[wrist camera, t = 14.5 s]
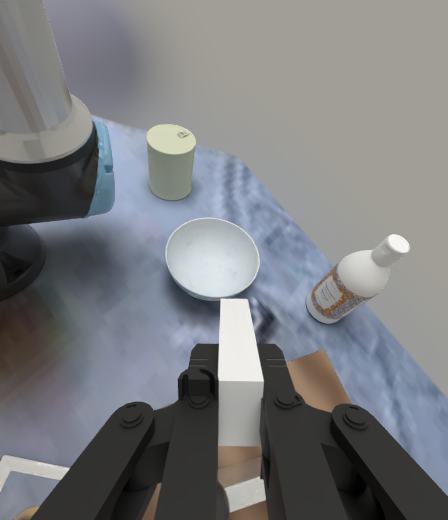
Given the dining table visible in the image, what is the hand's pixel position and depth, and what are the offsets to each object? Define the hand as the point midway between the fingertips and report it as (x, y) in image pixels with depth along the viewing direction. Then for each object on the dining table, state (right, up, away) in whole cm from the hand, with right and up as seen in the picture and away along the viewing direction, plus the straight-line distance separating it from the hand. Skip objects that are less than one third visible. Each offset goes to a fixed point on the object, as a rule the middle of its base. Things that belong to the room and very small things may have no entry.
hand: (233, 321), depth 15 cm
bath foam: (+18, -5, +35) cm, 40 cm away
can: (-12, +20, +45) cm, 51 cm away
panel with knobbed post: (+3, -22, +18) cm, 29 cm away
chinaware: (-4, 0, +34) cm, 35 cm away
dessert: (-21, -26, +14) cm, 37 cm away
